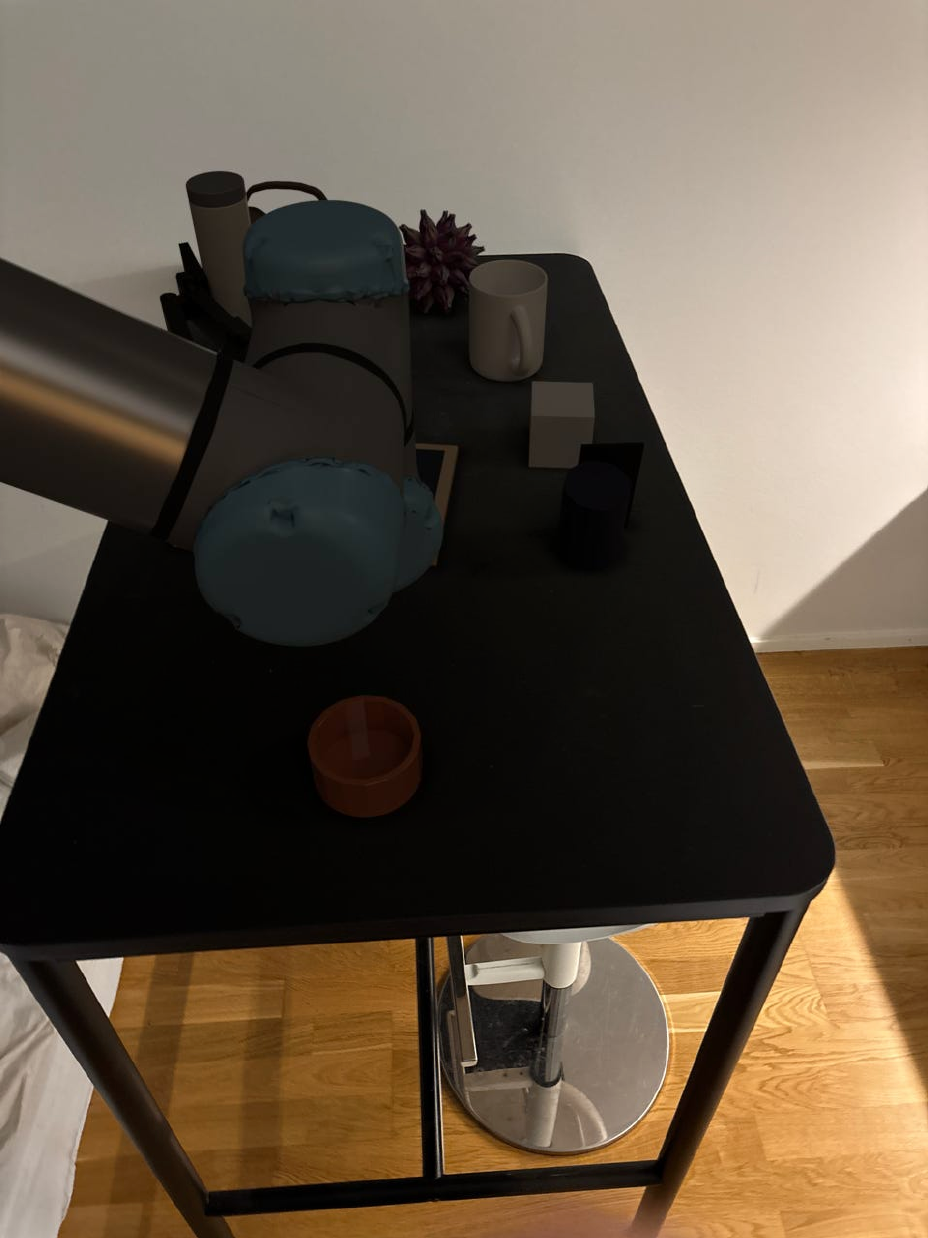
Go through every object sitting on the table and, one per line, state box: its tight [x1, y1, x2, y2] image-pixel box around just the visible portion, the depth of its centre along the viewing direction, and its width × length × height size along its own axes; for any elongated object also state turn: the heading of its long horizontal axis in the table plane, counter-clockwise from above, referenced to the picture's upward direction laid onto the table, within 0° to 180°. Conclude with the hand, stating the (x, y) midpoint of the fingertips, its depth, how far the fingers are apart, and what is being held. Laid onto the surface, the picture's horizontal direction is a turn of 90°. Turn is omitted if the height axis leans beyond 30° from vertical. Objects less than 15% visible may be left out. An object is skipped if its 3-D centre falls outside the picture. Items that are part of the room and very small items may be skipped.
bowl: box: [306, 694, 424, 819], centre depth 70 cm, size 8×8×4 cm
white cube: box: [528, 380, 596, 469], centre depth 97 cm, size 6×6×6 cm
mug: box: [468, 259, 549, 383], centre depth 105 cm, size 12×8×10 cm
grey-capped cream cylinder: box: [185, 170, 252, 353], centre depth 74 cm, size 4×4×18 cm
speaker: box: [556, 441, 645, 572], centre depth 85 cm, size 8×6×10 cm
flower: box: [398, 209, 486, 314], centre depth 116 cm, size 12×12×12 cm
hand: (216, 254), depth 77 cm, fingers closed on grey-capped cream cylinder, 4 cm apart
